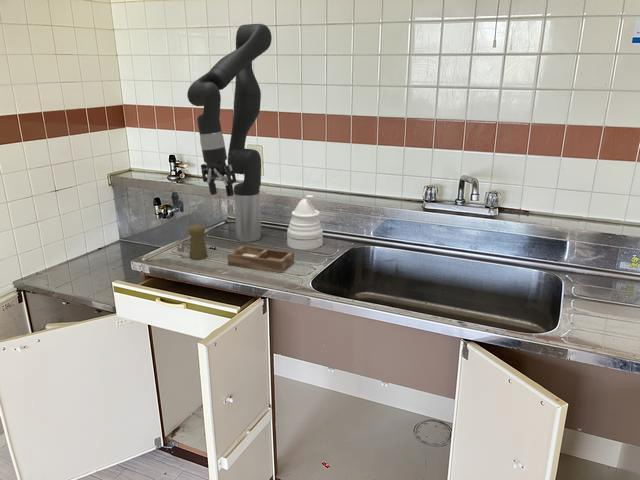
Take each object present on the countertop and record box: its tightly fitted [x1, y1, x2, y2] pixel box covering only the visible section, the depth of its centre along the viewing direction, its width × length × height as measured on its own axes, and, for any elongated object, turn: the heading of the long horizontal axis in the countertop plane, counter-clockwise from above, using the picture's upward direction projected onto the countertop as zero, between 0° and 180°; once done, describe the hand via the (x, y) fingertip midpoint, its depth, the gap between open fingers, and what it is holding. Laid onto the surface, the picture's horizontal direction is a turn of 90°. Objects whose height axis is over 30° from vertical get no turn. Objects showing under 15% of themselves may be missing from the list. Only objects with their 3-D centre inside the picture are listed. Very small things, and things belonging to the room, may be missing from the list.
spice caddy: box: [227, 244, 295, 274], centre depth 165 cm, size 10×19×4 cm, turn 70°
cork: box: [188, 224, 209, 261], centre depth 170 cm, size 6×6×11 cm
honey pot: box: [286, 194, 324, 251], centre depth 183 cm, size 13×13×18 cm
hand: (222, 195), depth 170 cm, fingers open, 8 cm apart
